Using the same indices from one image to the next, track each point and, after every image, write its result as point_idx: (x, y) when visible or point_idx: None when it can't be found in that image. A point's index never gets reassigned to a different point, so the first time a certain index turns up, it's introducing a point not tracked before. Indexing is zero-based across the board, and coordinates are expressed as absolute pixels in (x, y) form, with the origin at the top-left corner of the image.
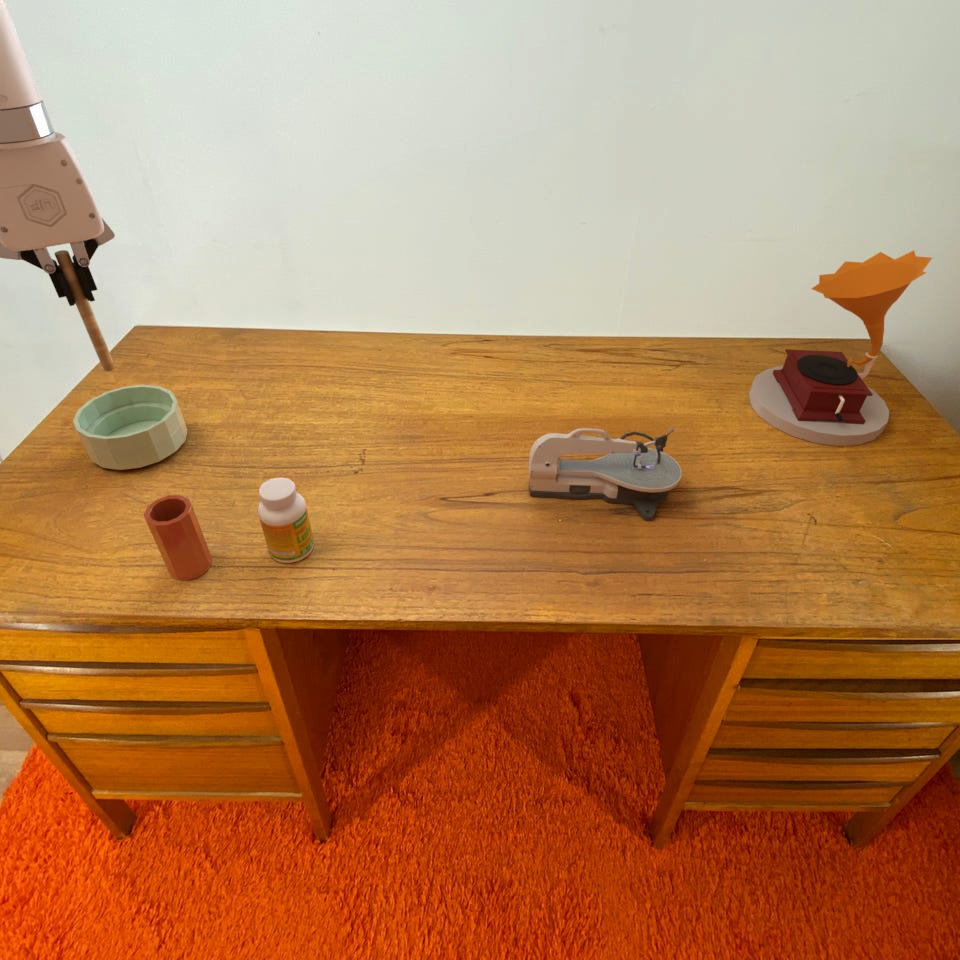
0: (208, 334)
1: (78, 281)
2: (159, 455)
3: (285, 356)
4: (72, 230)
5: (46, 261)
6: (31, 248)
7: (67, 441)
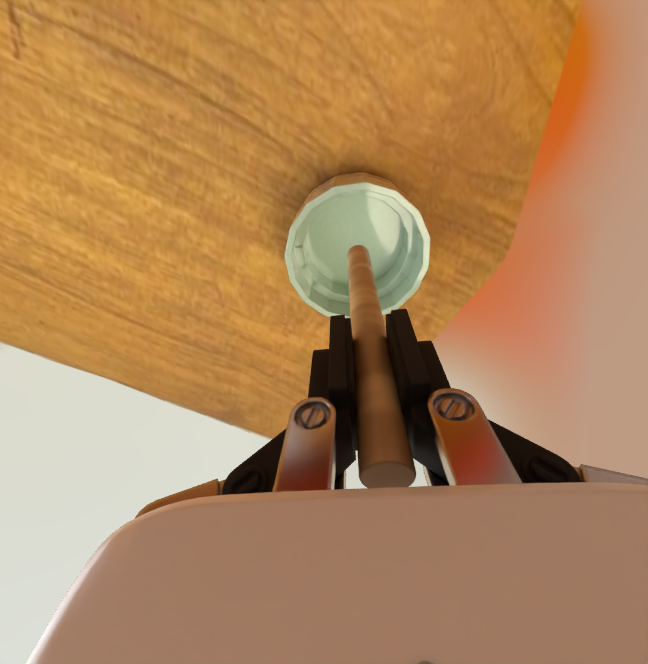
0: (258, 423)
1: (359, 374)
2: (332, 178)
3: (168, 354)
4: (267, 577)
5: (462, 432)
6: (575, 486)
7: (433, 285)
